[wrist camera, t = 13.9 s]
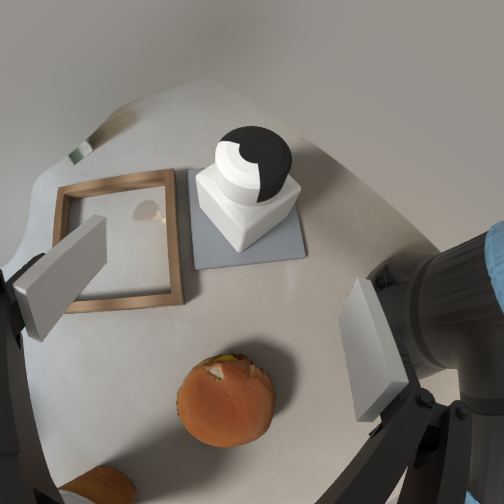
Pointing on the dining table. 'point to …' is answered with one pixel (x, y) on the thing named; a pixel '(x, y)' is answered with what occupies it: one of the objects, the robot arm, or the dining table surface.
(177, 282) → the walnut caddy
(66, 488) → the disposable coffee cup
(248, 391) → the burger
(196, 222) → the slate mat
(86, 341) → the dining table surface
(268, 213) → the medicine bottle
